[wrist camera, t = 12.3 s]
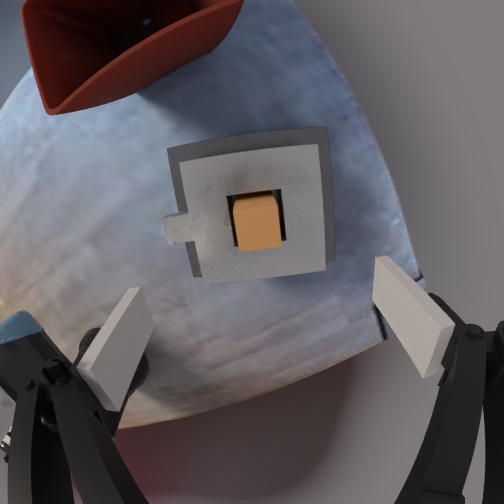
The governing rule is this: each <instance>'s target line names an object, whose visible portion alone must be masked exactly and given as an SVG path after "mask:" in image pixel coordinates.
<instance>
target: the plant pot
mask: <svg viewBox="0 0 504 504" xmlns="http://www.w3.org/2000/svg"><path fill="white" fill-rule="evenodd" d="M243 2H244V0H26V1H25V2H24V4H23V5H22V7H21V17H22V23H23V28H24V33H25V38H26V43H27V47H28V51H29V56H30V60H31V64H32V68H33V72H34V76H35V79H36V83H37V86H38V89H39V93H40V96H41V99H42V102H43V106H44V108H45V111H46V113H47V114H49V115H58V114H64V113H70V112H75V111H79V110H84V109H88V108H92V107H96V106H100V105H103V104H107V103H110V102H113V101H116V100H119V99H122V98H124V97H127V96H129V95H132V94H134V93H137V92H139V91H140V90H142V89H144V88H145V87H147V86H148V85H150V84H152V83H153V82H155V81H157V80H158V79H160V78H162V77H163V76H165V75H167V74H169V73H170V72H172V71H174V70H176V69H178V68H179V67H181V66H183V65H185V64H187V63H189V62H191V61H193V60H195V59H197V58H199V57H201V56H203V55H205V54H207V53H209V52H211V51H212V50H214V49H215V48H216V47H217V46H218V45H219V44H220V43H221V41H222V40H223V39H224V38H225V37H226V35H227V34H228V32H229V31H230V29H231V28H232V26H233V24H234V23H235V21H236V19H237V17H238V15H239V13H240V10H241V8H242V5H243ZM146 18H151V21H150V23H149V24H147V25H143V24H142V22H143V20H144V19H146Z"/></svg>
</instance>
